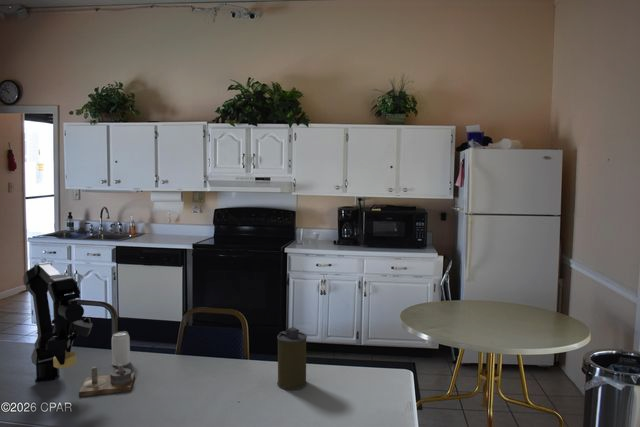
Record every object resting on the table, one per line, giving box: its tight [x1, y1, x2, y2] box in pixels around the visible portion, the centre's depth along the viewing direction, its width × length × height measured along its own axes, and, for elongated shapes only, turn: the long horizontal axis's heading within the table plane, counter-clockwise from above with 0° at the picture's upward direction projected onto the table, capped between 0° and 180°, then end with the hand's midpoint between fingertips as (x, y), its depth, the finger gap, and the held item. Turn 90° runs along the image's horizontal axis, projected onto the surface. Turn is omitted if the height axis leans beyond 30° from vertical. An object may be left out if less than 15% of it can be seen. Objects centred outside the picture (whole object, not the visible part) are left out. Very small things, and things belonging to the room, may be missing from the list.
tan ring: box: [53, 351, 78, 369], centre depth 157 cm, size 6×6×3 cm
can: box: [111, 330, 131, 367], centre depth 183 cm, size 6×6×12 cm
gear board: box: [78, 364, 136, 397], centre depth 164 cm, size 16×12×7 cm
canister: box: [276, 326, 308, 391], centre depth 166 cm, size 11×10×20 cm
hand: (65, 360), depth 157 cm, fingers closed on tan ring, 6 cm apart
